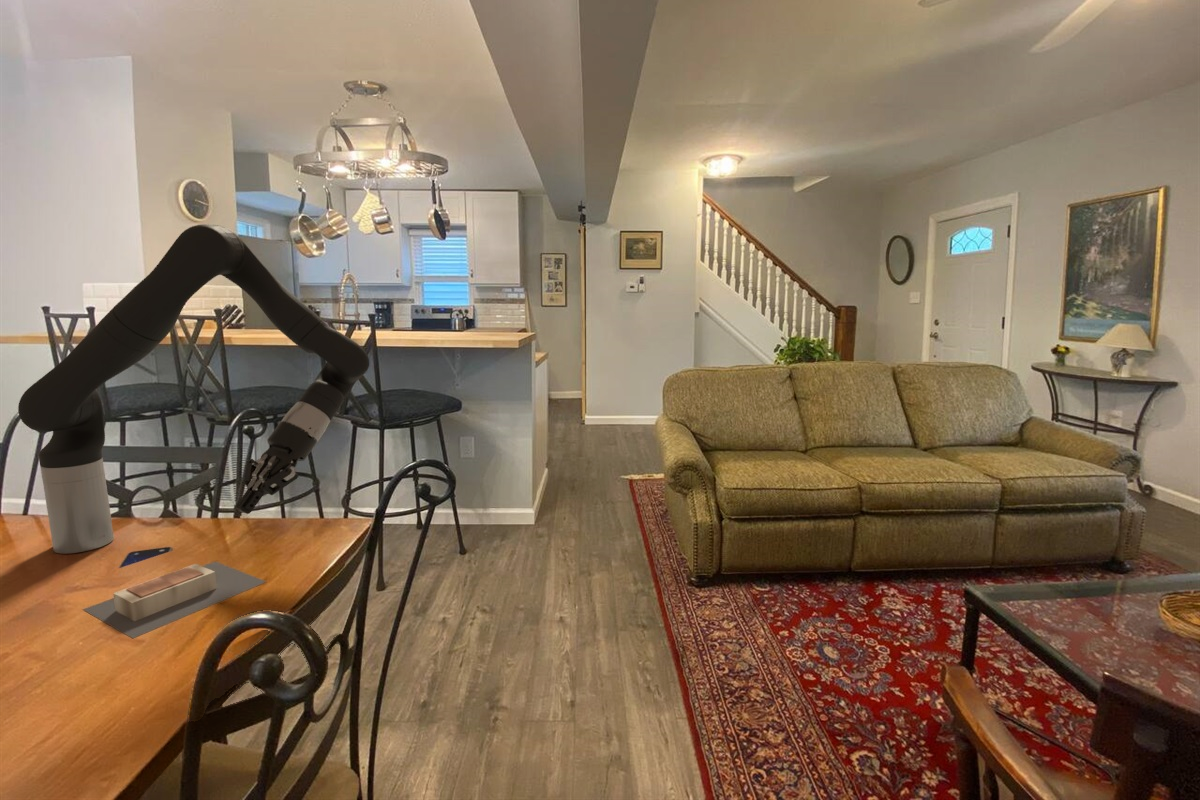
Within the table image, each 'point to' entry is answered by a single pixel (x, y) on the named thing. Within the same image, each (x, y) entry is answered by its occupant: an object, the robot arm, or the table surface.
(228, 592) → the rubber mat
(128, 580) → the table surface
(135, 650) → the table surface
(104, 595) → the table surface
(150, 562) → the table surface
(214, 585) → the beige rectangular block
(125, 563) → the smartphone
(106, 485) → the robot arm
